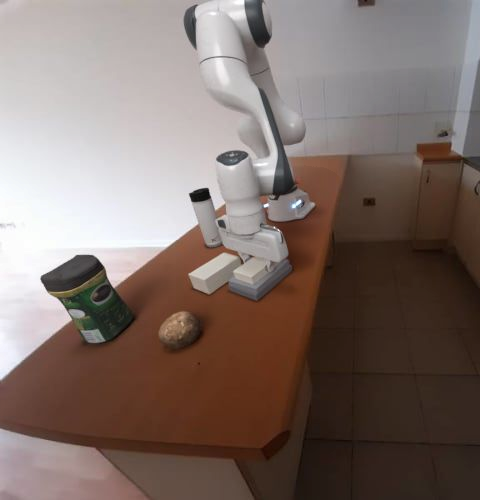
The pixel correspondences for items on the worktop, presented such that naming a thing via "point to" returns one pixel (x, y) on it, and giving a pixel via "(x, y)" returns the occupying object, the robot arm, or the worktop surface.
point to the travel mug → (206, 216)
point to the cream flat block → (252, 270)
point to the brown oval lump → (179, 330)
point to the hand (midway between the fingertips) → (259, 267)
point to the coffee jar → (88, 298)
